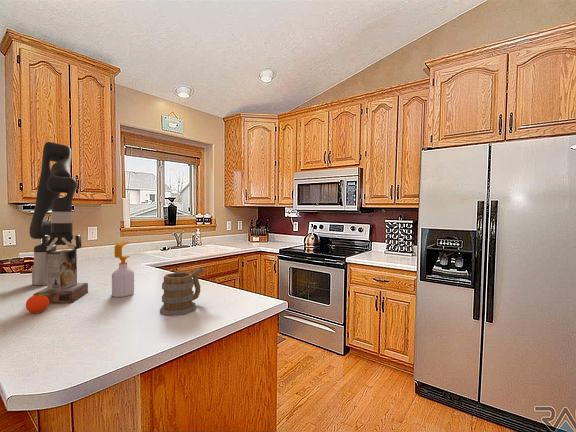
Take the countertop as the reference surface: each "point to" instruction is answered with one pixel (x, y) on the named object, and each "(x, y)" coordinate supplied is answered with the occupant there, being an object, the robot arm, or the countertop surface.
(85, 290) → the dock
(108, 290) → the countertop surface
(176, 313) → the tankard
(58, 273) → the coffee box
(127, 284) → the soap bottle
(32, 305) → the clementine
